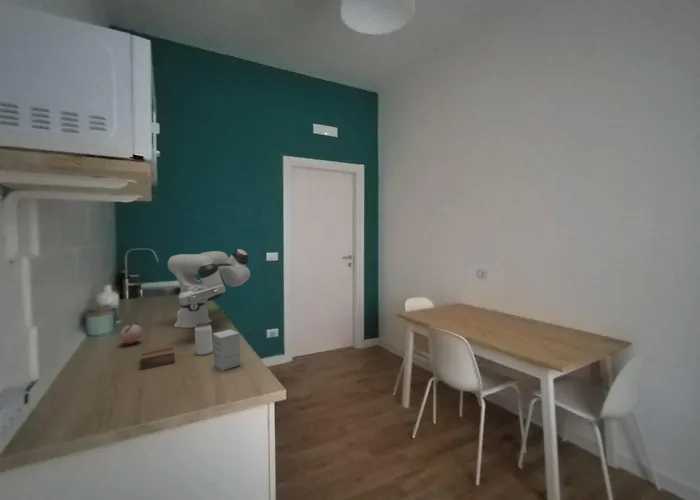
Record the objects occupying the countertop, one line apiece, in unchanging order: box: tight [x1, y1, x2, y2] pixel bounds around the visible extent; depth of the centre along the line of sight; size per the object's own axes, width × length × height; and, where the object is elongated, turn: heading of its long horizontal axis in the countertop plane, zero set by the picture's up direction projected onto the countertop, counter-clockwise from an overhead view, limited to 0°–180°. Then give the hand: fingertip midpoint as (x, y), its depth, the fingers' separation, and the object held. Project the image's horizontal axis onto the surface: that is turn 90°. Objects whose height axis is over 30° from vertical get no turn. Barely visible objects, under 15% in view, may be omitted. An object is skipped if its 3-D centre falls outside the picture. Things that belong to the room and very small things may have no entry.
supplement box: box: [212, 329, 241, 372], centre depth 125 cm, size 7×7×13 cm
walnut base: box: [140, 344, 176, 370], centre depth 130 cm, size 11×11×4 cm
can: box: [194, 322, 213, 356], centre depth 139 cm, size 6×6×12 cm
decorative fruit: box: [119, 322, 143, 345], centre depth 151 cm, size 9×8×10 cm
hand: (206, 294), depth 149 cm, fingers open, 8 cm apart
